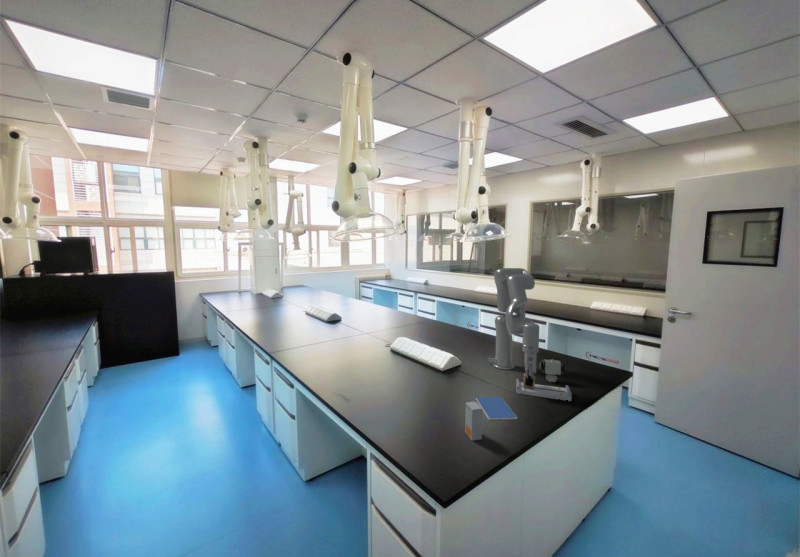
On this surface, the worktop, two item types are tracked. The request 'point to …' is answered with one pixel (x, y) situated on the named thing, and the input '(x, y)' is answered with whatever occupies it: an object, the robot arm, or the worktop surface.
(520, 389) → the fader track
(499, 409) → the tablet computer
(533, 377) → the fader tab
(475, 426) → the skincare box
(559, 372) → the pneumatic valve
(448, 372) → the worktop surface
